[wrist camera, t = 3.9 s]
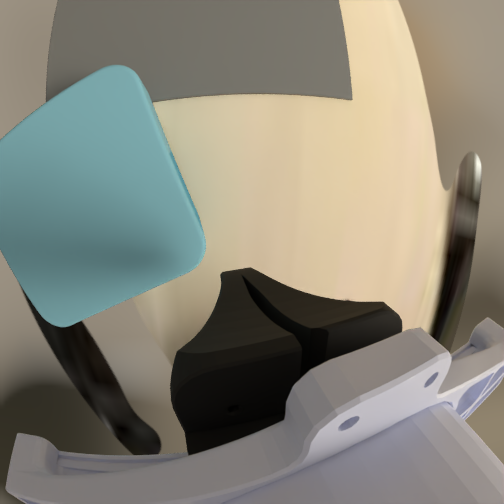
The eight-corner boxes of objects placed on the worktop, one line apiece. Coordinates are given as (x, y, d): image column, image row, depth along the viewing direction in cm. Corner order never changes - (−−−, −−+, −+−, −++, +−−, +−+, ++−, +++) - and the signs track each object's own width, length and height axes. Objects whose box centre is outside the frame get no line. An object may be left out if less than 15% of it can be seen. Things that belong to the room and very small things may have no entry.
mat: (350, 100, 18) (352, 99, 17) (48, 128, 13) (46, 128, 13) (328, -32, 12) (330, -33, 12) (65, -21, 8) (64, -23, 7)
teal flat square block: (141, 73, 13) (3, 163, 12) (130, 52, 9) (-33, 172, 8) (207, 235, 19) (71, 299, 18) (216, 261, 15) (53, 334, 14)
